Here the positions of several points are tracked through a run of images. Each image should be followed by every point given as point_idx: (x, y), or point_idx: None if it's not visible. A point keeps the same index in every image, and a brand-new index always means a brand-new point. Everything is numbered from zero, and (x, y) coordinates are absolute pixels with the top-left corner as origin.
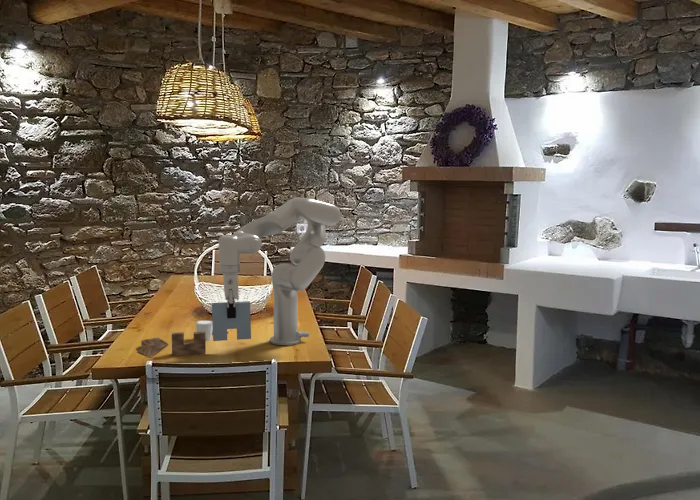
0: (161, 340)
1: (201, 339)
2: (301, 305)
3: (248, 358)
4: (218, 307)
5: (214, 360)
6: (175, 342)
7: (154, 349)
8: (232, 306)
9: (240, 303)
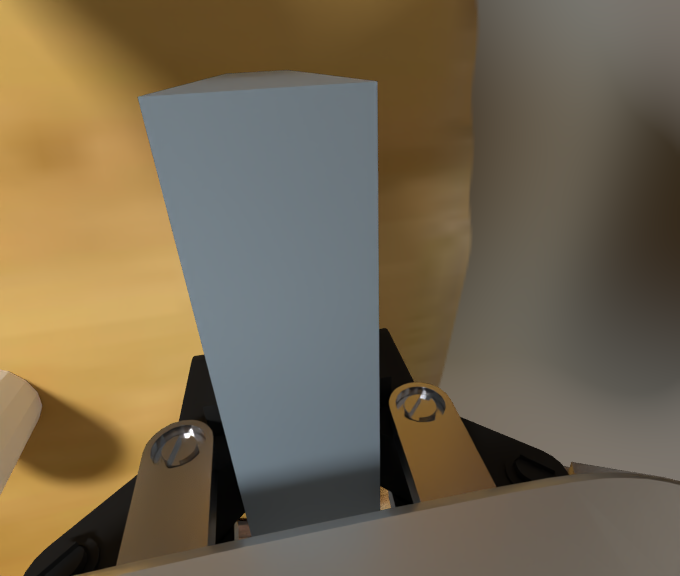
0: None
1: None
2: None
3: (423, 89)
4: None
5: (427, 286)
6: None
7: (246, 537)
8: (476, 436)
9: (376, 346)
